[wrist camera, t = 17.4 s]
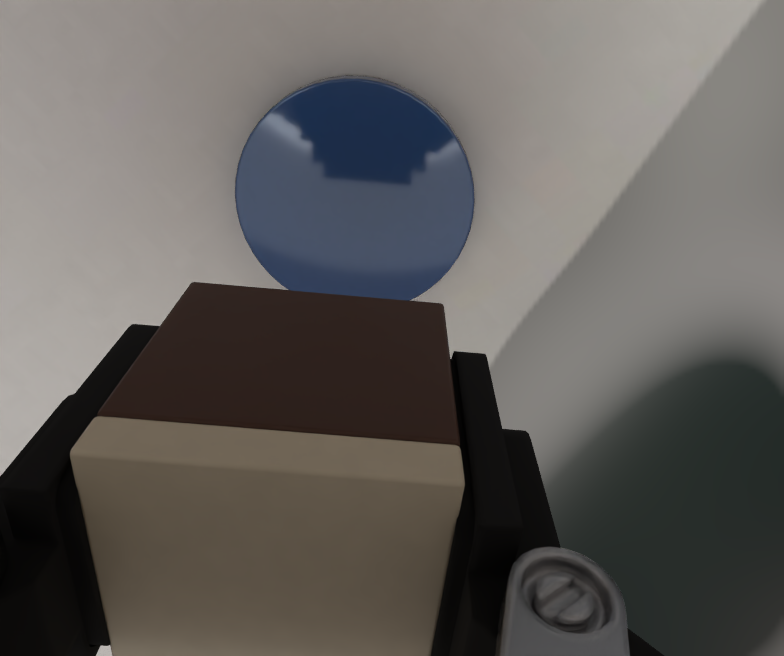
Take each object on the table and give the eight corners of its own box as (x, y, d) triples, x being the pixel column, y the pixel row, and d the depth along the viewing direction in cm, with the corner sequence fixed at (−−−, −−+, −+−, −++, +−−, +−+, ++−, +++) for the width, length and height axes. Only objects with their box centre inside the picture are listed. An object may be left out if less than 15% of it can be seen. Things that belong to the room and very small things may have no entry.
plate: (235, 63, 19) (229, 66, 19) (490, 87, 19) (493, 91, 19) (243, 293, 23) (238, 302, 22) (455, 311, 23) (457, 321, 23)
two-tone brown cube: (191, 279, 11) (66, 451, 7) (444, 302, 11) (466, 483, 7) (204, 458, 13) (114, 672, 9) (419, 475, 13) (425, 694, 9)
